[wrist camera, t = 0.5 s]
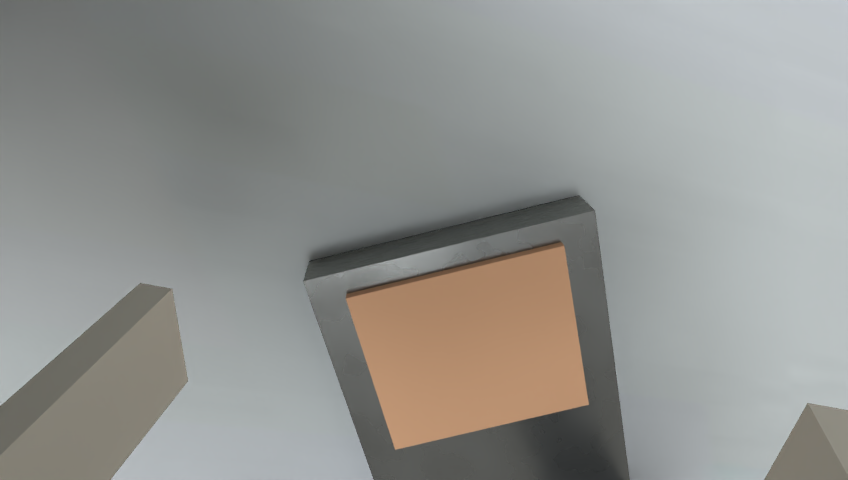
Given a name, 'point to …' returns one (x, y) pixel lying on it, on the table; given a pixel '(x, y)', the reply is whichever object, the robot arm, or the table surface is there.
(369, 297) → the pad
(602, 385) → the arbor press
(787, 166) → the table surface
